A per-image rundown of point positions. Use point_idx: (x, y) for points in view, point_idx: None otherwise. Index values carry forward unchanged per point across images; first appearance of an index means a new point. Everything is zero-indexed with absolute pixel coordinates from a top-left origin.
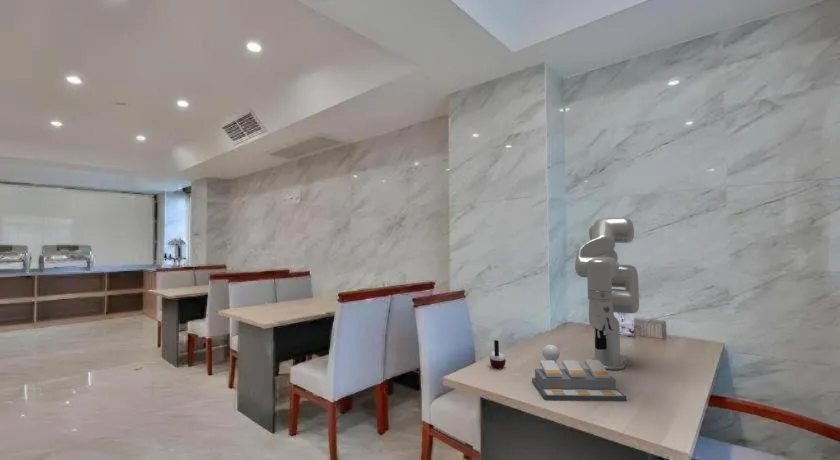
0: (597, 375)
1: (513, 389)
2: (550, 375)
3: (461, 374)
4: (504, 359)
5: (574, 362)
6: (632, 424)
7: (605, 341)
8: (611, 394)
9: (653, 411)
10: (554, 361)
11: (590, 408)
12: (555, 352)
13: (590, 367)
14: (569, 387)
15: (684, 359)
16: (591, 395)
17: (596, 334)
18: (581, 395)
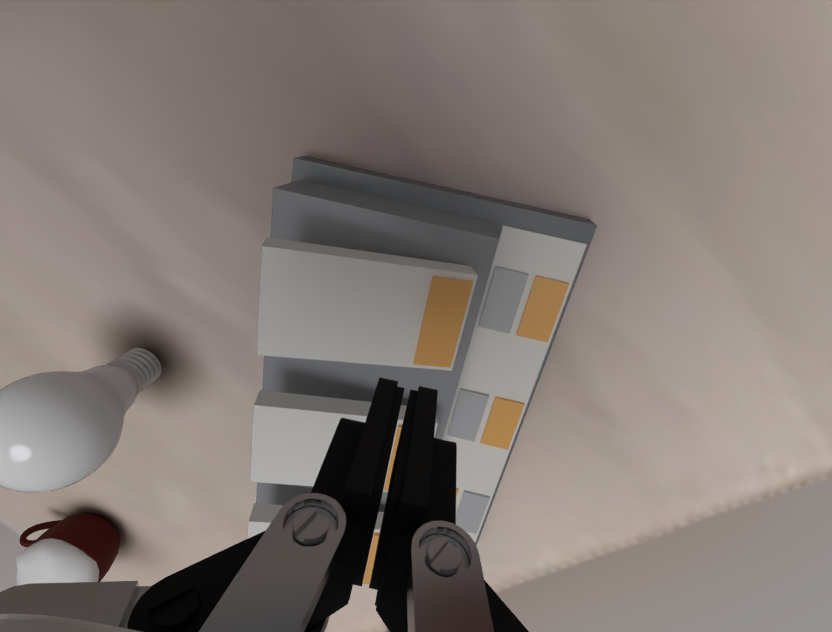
0: (454, 355)
1: None
2: None
3: None
4: (76, 549)
5: (283, 427)
6: (816, 381)
7: (430, 470)
8: (561, 307)
9: (766, 165)
10: (263, 522)
11: (600, 439)
12: (86, 443)
13: (362, 360)
14: None
15: None
16: (527, 399)
17: (327, 622)
18: (512, 439)
